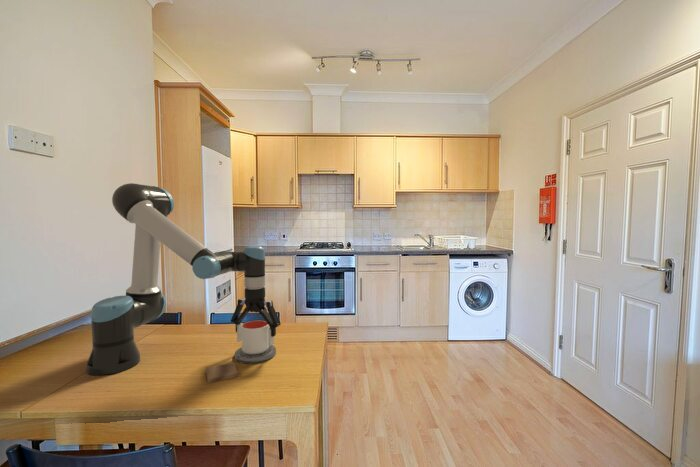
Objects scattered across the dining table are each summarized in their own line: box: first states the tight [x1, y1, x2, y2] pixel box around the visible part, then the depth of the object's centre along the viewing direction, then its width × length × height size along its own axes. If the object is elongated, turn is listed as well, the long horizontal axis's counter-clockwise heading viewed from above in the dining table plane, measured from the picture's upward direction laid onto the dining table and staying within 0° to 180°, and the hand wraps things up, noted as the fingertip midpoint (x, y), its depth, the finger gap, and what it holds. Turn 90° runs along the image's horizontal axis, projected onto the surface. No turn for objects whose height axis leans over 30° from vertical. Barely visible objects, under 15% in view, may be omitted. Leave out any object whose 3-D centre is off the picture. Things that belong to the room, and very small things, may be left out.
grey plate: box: [234, 344, 277, 365], centre depth 120 cm, size 15×15×2 cm
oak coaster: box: [205, 362, 239, 384], centre depth 105 cm, size 9×9×1 cm
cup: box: [241, 320, 270, 355], centre depth 120 cm, size 10×10×10 cm
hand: (255, 342), depth 120 cm, fingers open, 13 cm apart
